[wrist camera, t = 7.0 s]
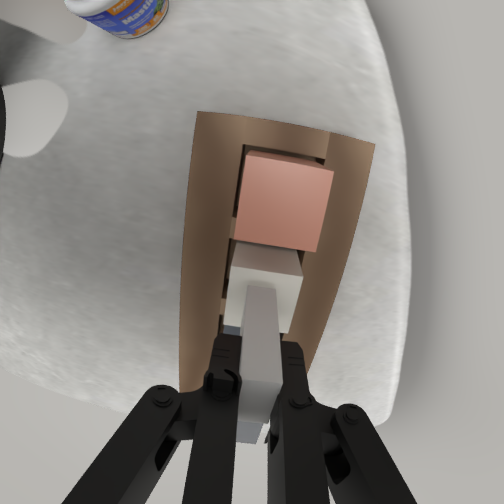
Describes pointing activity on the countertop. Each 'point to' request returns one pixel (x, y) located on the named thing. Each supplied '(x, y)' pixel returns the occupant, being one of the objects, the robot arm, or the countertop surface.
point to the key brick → (282, 201)
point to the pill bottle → (121, 15)
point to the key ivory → (263, 280)
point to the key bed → (224, 221)
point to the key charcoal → (248, 432)
